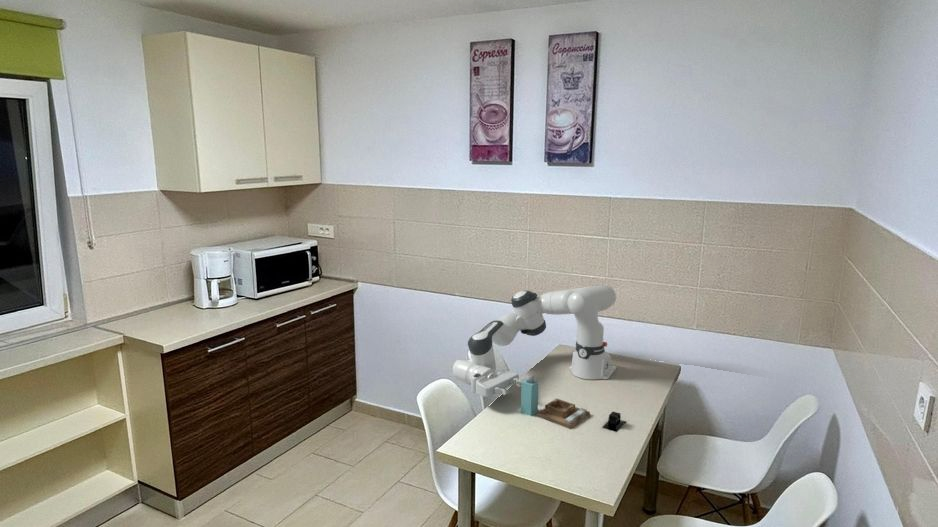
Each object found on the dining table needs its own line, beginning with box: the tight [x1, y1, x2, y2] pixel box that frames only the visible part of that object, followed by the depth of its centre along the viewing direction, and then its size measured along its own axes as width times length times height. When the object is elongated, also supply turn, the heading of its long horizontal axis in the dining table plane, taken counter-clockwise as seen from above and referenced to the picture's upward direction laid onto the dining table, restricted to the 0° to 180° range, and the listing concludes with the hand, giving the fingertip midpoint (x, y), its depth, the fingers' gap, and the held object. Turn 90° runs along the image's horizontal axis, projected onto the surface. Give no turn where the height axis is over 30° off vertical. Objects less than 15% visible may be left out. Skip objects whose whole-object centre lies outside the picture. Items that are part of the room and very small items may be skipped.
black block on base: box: [601, 411, 627, 433], centre depth 192 cm, size 12×7×5 cm, turn 144°
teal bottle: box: [520, 374, 540, 417], centre depth 200 cm, size 4×4×14 cm
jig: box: [536, 398, 591, 430], centre depth 199 cm, size 14×14×4 cm
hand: (514, 388), depth 204 cm, fingers open, 8 cm apart
